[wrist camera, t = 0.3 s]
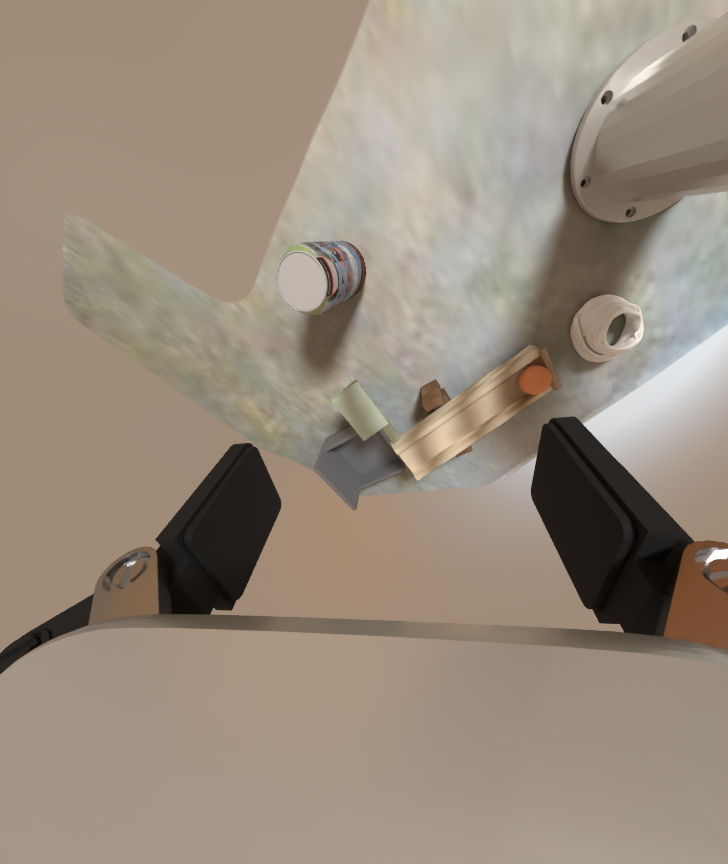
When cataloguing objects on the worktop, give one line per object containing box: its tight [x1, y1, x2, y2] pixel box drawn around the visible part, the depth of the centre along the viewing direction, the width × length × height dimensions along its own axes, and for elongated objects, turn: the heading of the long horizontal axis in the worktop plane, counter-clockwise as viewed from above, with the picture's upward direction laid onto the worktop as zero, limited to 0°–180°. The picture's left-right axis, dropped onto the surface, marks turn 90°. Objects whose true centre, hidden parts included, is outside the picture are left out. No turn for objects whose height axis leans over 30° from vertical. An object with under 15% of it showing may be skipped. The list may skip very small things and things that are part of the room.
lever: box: [331, 345, 562, 481], centre depth 38 cm, size 24×17×4 cm
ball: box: [518, 365, 552, 395], centre depth 37 cm, size 4×4×4 cm
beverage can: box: [277, 241, 366, 315], centre depth 31 cm, size 6×7×12 cm
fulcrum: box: [421, 379, 472, 457], centre depth 42 cm, size 3×10×5 cm, turn 35°
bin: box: [314, 425, 405, 510], centre depth 47 cm, size 10×10×8 cm
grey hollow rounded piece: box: [570, 294, 644, 363], centre depth 34 cm, size 8×7×5 cm
